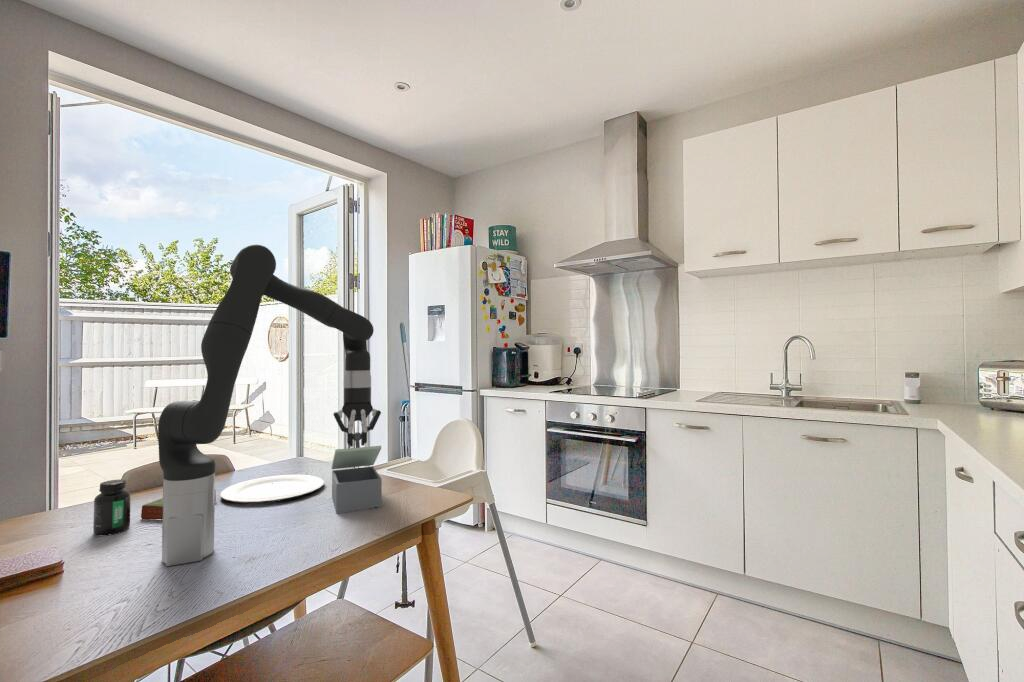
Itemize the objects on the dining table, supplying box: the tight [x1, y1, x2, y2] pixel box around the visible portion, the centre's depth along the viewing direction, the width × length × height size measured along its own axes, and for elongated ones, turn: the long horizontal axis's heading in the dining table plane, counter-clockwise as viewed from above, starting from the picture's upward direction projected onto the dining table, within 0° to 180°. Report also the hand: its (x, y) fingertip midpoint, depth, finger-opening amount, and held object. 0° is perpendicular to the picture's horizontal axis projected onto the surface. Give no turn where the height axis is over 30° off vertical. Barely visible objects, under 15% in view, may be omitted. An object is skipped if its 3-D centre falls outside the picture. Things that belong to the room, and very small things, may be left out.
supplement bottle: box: [92, 478, 132, 537], centre depth 113 cm, size 7×7×12 cm
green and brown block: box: [140, 489, 217, 519], centre depth 128 cm, size 8×16×4 cm, turn 171°
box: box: [331, 465, 383, 514], centre depth 135 cm, size 16×12×8 cm
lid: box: [330, 431, 382, 470], centre depth 138 cm, size 16×12×6 cm
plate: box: [220, 474, 325, 504], centre depth 145 cm, size 29×29×2 cm
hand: (357, 445), depth 134 cm, fingers closed on lid, 2 cm apart
